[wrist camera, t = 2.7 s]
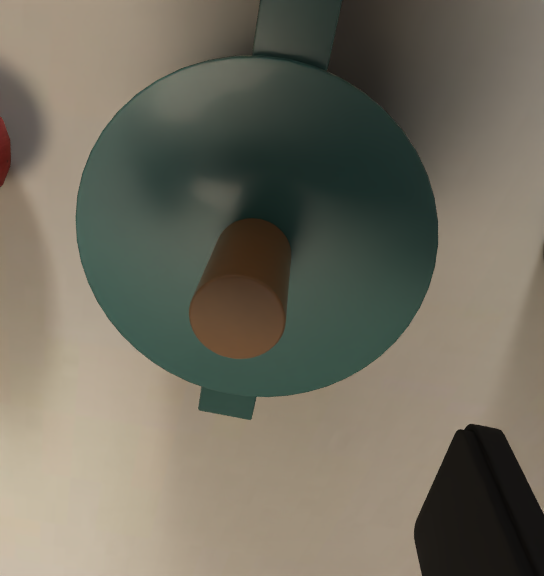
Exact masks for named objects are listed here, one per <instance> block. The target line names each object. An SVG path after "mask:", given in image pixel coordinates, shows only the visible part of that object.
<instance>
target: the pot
mask: <svg viewBox="0 0 544 576" xmlns="http://www.w3.org/2000/svg"><path fill="white" fill-rule="evenodd" d="M341 5H342V0H260V5H259V11H258V18H257V24H256V31H255V38H254V44H253V51H252V56H261V55H263V56H270V57H278V58H285V59H291V60H295V61H298V62H302V63H305V64H309V65H312V66H316V67H318V68H320V69H323V70H325V71H327V69H328V65H329V60H330V55H331V51H332V46H333V41H334V37H335V32H336V28H337V23H338V18H339V14H340V9H341ZM255 401H256V397H254V396H242V395H235V394H228V393H224V392H219V391H215V390H211V389H207V388H205V387H202V386H201V393H200V399H199V406H198V409H199V410H200V411H205V412H211V413H216V414H221V415H227V416H232V417H237V418H242V419H248V420H251V419H252V415H253V411H254V406H255Z"/></svg>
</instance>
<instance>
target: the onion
mask: <svg viewBox="0 0 544 576" xmlns="http://www.w3.org/2000/svg"><path fill="white" fill-rule="evenodd" d="M10 164H11V147H10V138H9V135H8V132H7V130H6V127H5V124H4V121H3V119H2V118H1V117H0V187H1V186H2V185H3V183H4V181H5V178H6V176H7V173H8V171H9V168H10Z"/></svg>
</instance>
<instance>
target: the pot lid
mask: <svg viewBox="0 0 544 576" xmlns="http://www.w3.org/2000/svg"><path fill="white" fill-rule="evenodd" d="M76 232H77V243H78V248H79V253H80V258H81V263H82V266H83V269H84V272H85V275H86V278H87V281H88V283H89V285H90V287H91V289H92V291H93V293H94V295H95V298H96V300H97V302H98V303H99V305H100V306H101V308H102V309H103V311H104V312H105V314H106V316H107V317H108V319H109V320H110V321H111V322H112V324H113V325H114V326H115V327H116V329H117V330H118V331H119V332H120V333H121V335H122V336H123V337H124V338H125V339H126V340H127V341H128V342H130V343H131V344H132V345H133V346H134V347H135V348H136V349H137V350H138V351H139V352H141V353H142V354H143V355H144V356H146V357H147V358H148V359H150V360H151V361H152V362H154V363H155V364H157V365H158V366H160V367H162V368H163V369H165V370H166V371H168V372H170V373H172V374H174V375H176V376H178V377H180V378H182V379H184V380H186V381H188V382H191V383H194V384H196V385H199V386H202V387H205V388H207V389H211V390H215V391H219V392H224V393H228V394H235V395H242V396H254V397H274V396H288V395H294V394H299V393H305V392H309V391H313V390H316V389H319V388H323V387H326V386H329V385H331V384H334V383H336V382H338V381H341V380H343V379H345V378H347V377H349V376H351V375H353V374H354V373H356V372H358V371H360V370H361V369H363V368H365V367H366V366H367V365H369V364H370V363H371V362H373V361H374V360H376V359H377V358H378V357H380V356H381V355H382V354H383V353H384V352H385V351H386V350H387V349H388V348H389V347H390V346H391V345H392V344H394V343H395V342H396V340H397V339H398V338H399V337H400V335H401V334H402V333H403V332H404V331H405V329H406V328H407V327H408V326H409V324H410V322H411V321H412V319H413V318H414V316H415V314H416V313H417V311H418V310H419V308H420V306H421V304H422V301H423V299H424V297H425V295H426V292H427V290H428V288H429V285H430V281H431V278H432V274H433V271H434V268H435V262H436V255H437V248H438V218H437V212H436V205H435V198H434V195H433V191H432V188H431V185H430V181H429V178H428V175H427V172H426V170H425V168H424V166H423V164H422V162H421V160H420V157H419V155H418V153H417V151H416V150H415V148H414V147H413V145H412V144H411V142H410V141H409V139H408V138H407V136H406V134H405V133H404V131H403V130H402V129H401V128H400V127H399V126H398V124H397V123H396V122H395V121H394V120H393V119H392V118H391V117H390V115H389V114H388V113H387V112H386V111H385V110H384V109H383V108H382V107H381V106H380V105H378V104H377V103H376V102H375V101H374V100H373V99H371V98H370V97H369V96H368V95H367V94H365V93H364V92H363V91H361V90H360V89H358V88H357V87H355V86H353V85H352V84H350V83H349V82H347V81H345V80H344V79H342V78H341V77H338V76H336V75H334V74H332V73H329V72H327V71H325V70H323V69H320V68H318V67H316V66H312V65H309V64H305V63H302V62H298V61H295V60H291V59H285V58H278V57H270V56H263V55H261V56H231V57H224V58H218V59H212V60H207V61H204V62H201V63H197V64H194V65H191V66H188V67H185V68H181V69H179V70H177V71H175V72H173V73H171V74H169V75H167V76H165V77H163V78H161V79H159V80H157V81H155V82H154V83H152V84H151V85H149V86H148V87H146V88H145V89H144V90H142V91H141V92H139V93H138V94H136V95H135V96H134V97H133V98H132V99H131V100H130V101H129V102H128V103H127V104H126V105H124V106H123V107H122V108H121V109H120V110H119V111H118V112H117V113H116V115H115V116H114V117H113V118H112V120H111V121H110V122H109V123H108V125H107V126H106V127H105V129H104V130H103V131H102V133H101V135H100V136H99V138H98V140H97V142H96V143H95V145H94V147H93V149H92V150H91V152H90V155H89V158H88V160H87V163H86V165H85V168H84V171H83V173H82V178H81V182H80V186H79V191H78V195H77V207H76Z"/></svg>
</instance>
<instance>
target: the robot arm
mask: <svg viewBox="0 0 544 576" xmlns="http://www.w3.org/2000/svg"><path fill="white" fill-rule="evenodd" d="M414 539H415V545H416V549H417V554H418V559H419V564H420V568H421V573H422V576H544V514H543V512H542V510H541V508H540V506H539V504H538V502H537V500H536V498H535V496H534V494H533V492H532V490H531V488H530V486H529V484H528V482H527V480H526V478H525V475H524V473H523V471H522V469H521V467H520V465H519V463H518V461H517V459H516V457H515V455H514V453H513V451H512V449H511V447H510V445H509V443H508V441H507V439H506V437H505V435H504V434H503V432H502V431H501V430H499V429H496V428H491V427H485V426H480V425H475V424H469V425H468V426H467V427H466V428H465V430H461V429H460V430H458V431H456V433H455V435H454V437H453V439H452V442H451V444H450V446H449V448H448V451H447V453H446V455H445V457H444V459H443V462H442V464H441V466H440V468H439V471H438V473H437V475H436V477H435V480H434V482H433V484H432V486H431V489H430V491H429V493H428V495H427V497H426V500H425V502H424V504H423V506H422V509H421V511H420V513H419V515H418V518H417V520H416V523H415V528H414Z"/></svg>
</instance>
